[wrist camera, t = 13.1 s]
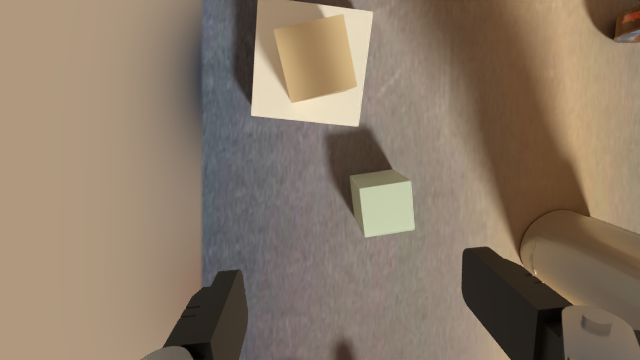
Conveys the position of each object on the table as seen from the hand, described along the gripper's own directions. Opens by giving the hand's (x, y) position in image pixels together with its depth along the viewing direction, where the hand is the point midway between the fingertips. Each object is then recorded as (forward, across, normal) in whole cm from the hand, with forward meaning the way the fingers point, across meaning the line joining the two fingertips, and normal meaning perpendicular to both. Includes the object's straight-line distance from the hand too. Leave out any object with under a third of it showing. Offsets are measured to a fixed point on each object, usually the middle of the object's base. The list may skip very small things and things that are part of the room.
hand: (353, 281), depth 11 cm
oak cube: (+20, 0, -9) cm, 22 cm away
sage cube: (+24, -6, +4) cm, 26 cm away
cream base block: (+25, 0, -10) cm, 27 cm away
